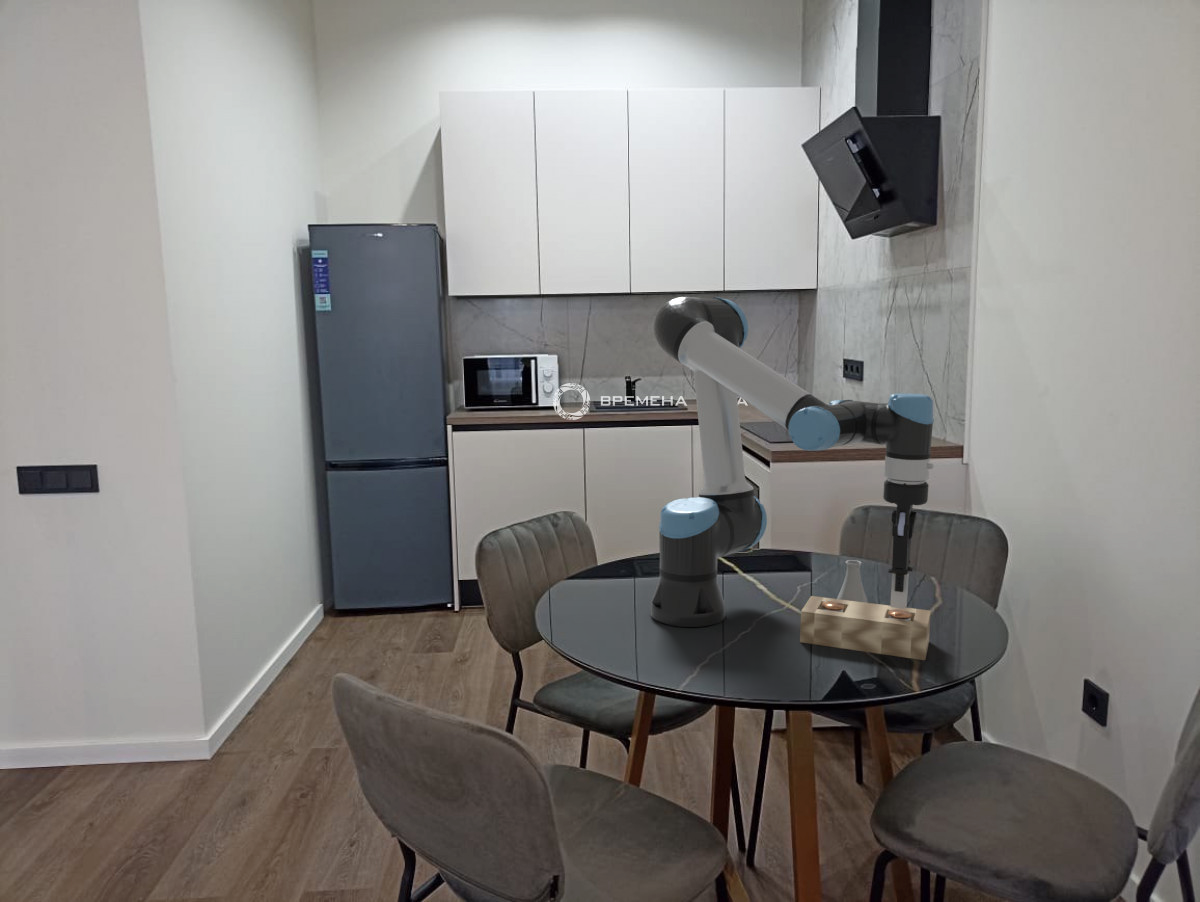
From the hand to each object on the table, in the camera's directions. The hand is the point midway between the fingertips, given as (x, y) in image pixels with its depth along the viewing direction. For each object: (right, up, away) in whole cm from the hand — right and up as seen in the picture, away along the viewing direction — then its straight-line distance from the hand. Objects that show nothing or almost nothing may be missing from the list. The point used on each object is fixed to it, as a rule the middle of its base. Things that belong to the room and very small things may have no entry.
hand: (898, 606), depth 159 cm
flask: (-2, -5, +23) cm, 23 cm away
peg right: (0, -7, +1) cm, 7 cm away
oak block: (-5, -7, +3) cm, 9 cm away
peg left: (-11, -6, +6) cm, 14 cm away
